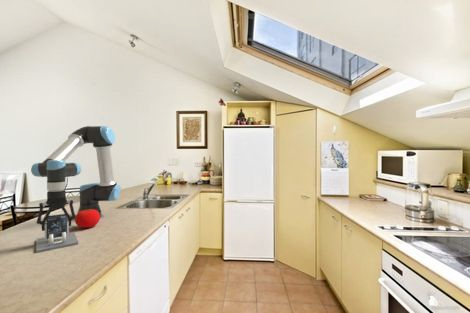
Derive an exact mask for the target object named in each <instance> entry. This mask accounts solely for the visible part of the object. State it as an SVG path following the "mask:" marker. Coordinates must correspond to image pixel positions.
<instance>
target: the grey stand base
mask: <svg viewBox="0 0 470 313" xmlns="http://www.w3.org/2000/svg"><path fill="white" fill-rule="evenodd" d="M35 245H36V247H35V248H36V249H35V252H36V254H39V253H43V252H47V251H51V250H58V249H62V248H67V247H71V246H77V245H79V240H78V239H77V235H76V233H75V231H72V232H70V231H69V233H68V234H67V233H66V232H63V233H62V237H57V238H53V234H50V235H49V239H47V237H46V238H45V236H43V237H37V238H36V244H35Z"/></svg>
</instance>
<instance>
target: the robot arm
mask: <svg viewBox="0 0 470 313" xmlns="http://www.w3.org/2000/svg"><path fill="white" fill-rule="evenodd" d="M115 141H116V135H115V132H114V130H113V129H112V127H110V126H104V125H96V126H94V125H93V126H92V125H91V126H90V125H87V126H83V127H80V128H77V129H76V130H75V131H73V132H72V133H70V134H69V135H68V137H67V139H66V140H65V141H64V142H63V143H62V144H61V145H59V147H58V148H57V149H56V150H54V151H53V152H52V153H51V154H50V155H49V156H48V157H47V158H46V159H45V160H43V161H42V162H36V163H34V164H32V165H31V168H30V172H31V174H32V175H33V176H34V177H40V178H46V190H47V192H46V198H47V199H46V201H45V202H39V210H38V214H37V219H36V224H37V225H40V226H41V231H42V232H43V231H44V237H45V238H46V237H47V218H48V216H50V215H51V212H52V211H53V210H56V209H61V210H62V211H63V214H65V215H66V216H67V220H66V222H67V234H68V233H70V227H72V220H75V217H76V215H77V214H78V212H80V211H83V210H88V209H94V210H97V211H98V212H99V214H100V216H101V215H102V210H101V207H100V204H99V202H114V201H116V200H118V199H119V197H120V195H121V189H122V188H121V186H120V184H117V181H116V180H115V179H114V178H115V177H114V171H113V162H112V155H111V154H112V153H111V147H112V146H113V144H114V143H115ZM85 144H92V147H93V148H95V150H96V159H97V167H98V174H99V182H94V183H93V182H92V183H87V184H83V185H82V184H81V185H80V187H79V207H78V209H77V213H76V215H75V209H74V201H73V199H67V198H66V197H67V195H66V190H65V189H66V184H67V183H66V178H69V177H76V176H78V175H80V174H81V172H82V166H81V165H80V163H77V162H66V161H67V160H68V159H69V158H70V156H71V155H72V154H73V153H75V152H76V151H77V149H79V148H80V147H82V146H84V145H85ZM66 203H67V205H69V209H70V213H71V216H70V214H69V212H68V210H67V209H66V207H65V205H66ZM46 205H47V206H48V209H47V211H46V213H45V215H44V217H43V219H42V216H43V212H44V208H45V206H46Z"/></svg>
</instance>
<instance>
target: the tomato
mask: <svg viewBox="0 0 470 313" xmlns="http://www.w3.org/2000/svg"><path fill="white" fill-rule="evenodd" d="M77 212H78V211H77ZM100 219H101V215H100V214H99V212H98V211H97V210H94V209H88V210H83V211H80V212H78V214H77V213H76V215H75V219H74V223H75V224H76V225H77V226H78V227H80V228H83V229H85V228H86V229H89V228H93V227H96V225H97V224H98V223H99V222H100Z"/></svg>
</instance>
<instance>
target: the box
mask: <svg viewBox="0 0 470 313" xmlns="http://www.w3.org/2000/svg"><path fill="white" fill-rule="evenodd" d="M66 220H68V218H67V216H66V215H65V213H62V214H61V213H60V214H53V215H52V214H51V215H49V216H48V218H47V220H46V223H47V239H49V235H50V234H53V238H57V237H62V233H63V232H66V233H67V222H66Z"/></svg>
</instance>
